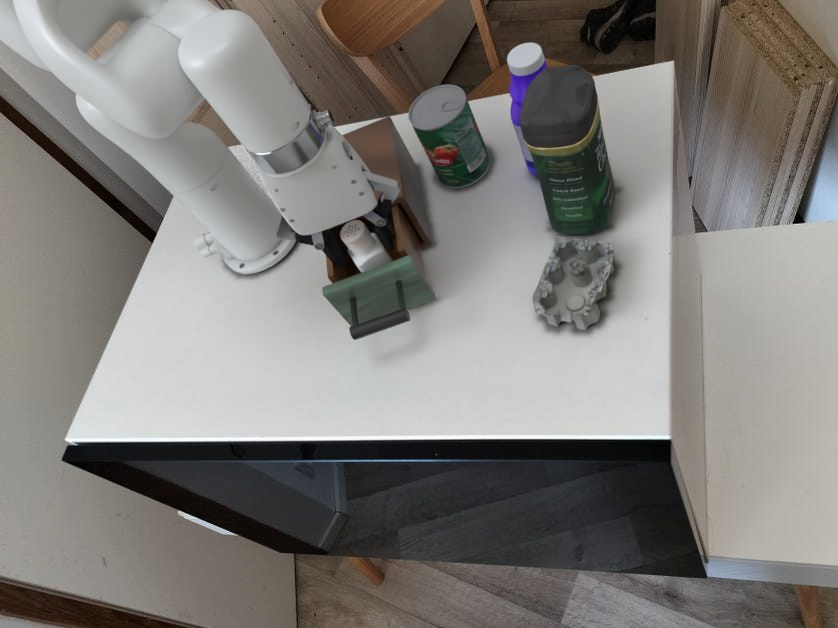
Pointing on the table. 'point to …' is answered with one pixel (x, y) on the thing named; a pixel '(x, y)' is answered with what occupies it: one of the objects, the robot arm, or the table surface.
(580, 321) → the egg carton
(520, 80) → the bottle
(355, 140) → the cabinet
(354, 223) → the salt shaker
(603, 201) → the coffee jar
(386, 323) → the drawer
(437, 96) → the canned tomato
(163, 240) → the table surface
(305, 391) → the table surface
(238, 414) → the table surface
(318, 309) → the table surface
